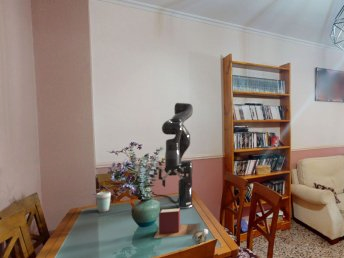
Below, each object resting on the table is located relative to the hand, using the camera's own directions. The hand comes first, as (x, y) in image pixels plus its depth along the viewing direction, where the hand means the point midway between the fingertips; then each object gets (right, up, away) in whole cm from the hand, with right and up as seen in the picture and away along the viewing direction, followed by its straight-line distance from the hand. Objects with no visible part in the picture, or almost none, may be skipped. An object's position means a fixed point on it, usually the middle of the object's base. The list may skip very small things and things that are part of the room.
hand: (172, 185), depth 143 cm
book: (-1, -26, 0) cm, 26 cm away
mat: (+2, -26, +1) cm, 26 cm away
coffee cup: (-61, -24, +29) cm, 72 cm away
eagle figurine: (+19, -27, -10) cm, 35 cm away
